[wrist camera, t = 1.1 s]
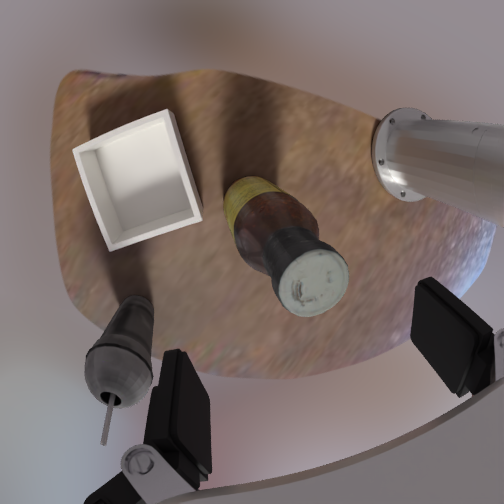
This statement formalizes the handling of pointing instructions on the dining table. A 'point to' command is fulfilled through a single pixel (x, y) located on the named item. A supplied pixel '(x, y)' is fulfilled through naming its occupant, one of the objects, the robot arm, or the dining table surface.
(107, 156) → the box
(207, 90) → the dining table surface
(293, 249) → the sauce bottle
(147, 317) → the beverage cup
